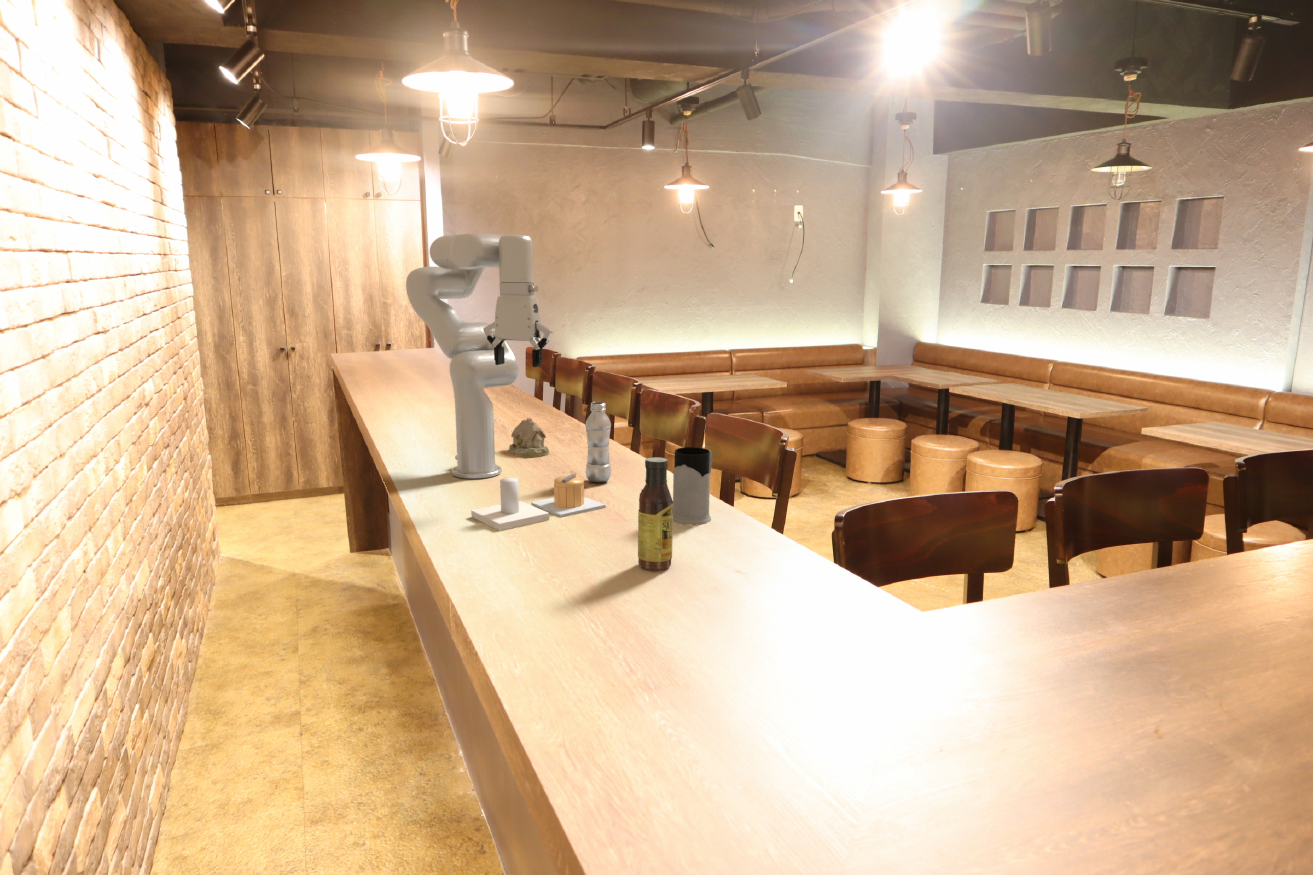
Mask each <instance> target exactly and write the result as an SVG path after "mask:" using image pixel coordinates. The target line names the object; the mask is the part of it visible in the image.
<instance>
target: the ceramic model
mask: <svg viewBox="0 0 1313 875" xmlns="http://www.w3.org/2000/svg"><path fill="white" fill-rule="evenodd" d="M510 437H511V438H512V440H513V442H512V444H510V445H509V447H508V450H509V453H510V454H512V455H515V456H520V457H525V458H537V457H543V456H546V455H549V453H550V449H549V447H548V446H547V445H546V446H545V439H546V438H547V436H546V433H545V432H544V430H543V429H542V428H541V427H540V426H539V425H538V424H537V422H535V421H533V419H532V418H531V417H527V418H526V419H523V420H521V421H520V423H519V424H517V426H516V427H514V429H513V430H512V433H511V435H510Z"/></svg>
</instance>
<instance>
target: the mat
mask: <svg viewBox="0 0 1313 875" xmlns="http://www.w3.org/2000/svg"><path fill="white" fill-rule="evenodd" d="M530 505H531V506H534V507H536V508H538V509H541V510H543V511H545V512H548V513H549V514H552V515H555V516H557V517H560V518H563V517H568V516H573V515H577V514H581V513H586V512H590V511H595V510H599V509H600V510H601V509H604V508H606V507H607V506H606V504H604V503H602V502H599V501H597V500H594V499H592V498H589V497H586V496H584V504H583V505H582V506H579V507H574V508H567V507H566V508H563V507H558V506H555V504H554V497H549V498H544V499H540V500H536V501H531V502H530Z"/></svg>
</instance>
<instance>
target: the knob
mask: <svg viewBox="0 0 1313 875" xmlns="http://www.w3.org/2000/svg"><path fill="white" fill-rule="evenodd" d="M584 480H585V479H584V478H583V477H580V476H577V474H576V473H571V474H569V475H567V476H559V477H556V478H554V479H553V498H554V504H555V506H558V507H563V508H566V507H567V508H574V507H579V506H582V505H583V504H584V497H585V483H584Z"/></svg>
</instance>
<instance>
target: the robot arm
mask: <svg viewBox="0 0 1313 875" xmlns="http://www.w3.org/2000/svg"><path fill="white" fill-rule="evenodd" d="M533 252H534V251H533V239H532V238H531V237H530V236H529V235H525V234H497V233H464V234H463V233H462V234H461V233H460V234H450V235H448V234H447V235H442V236H439V237H438V238H436V239H435V240H433V242H432V243H431V244H430V246H429V255H430V260H432V262H433V263H434V264H435V265H436V266H424V267H423V266H422V267H417V268H415V269H413V270H412V271H410V272H409V273H408V275H407V276H406V280H405V281H406V282H405V288H406V293H407V294H406V295H407V298H408V300H409V304H410V305H411V307H412V309H413V311H414V312H415V313H416V315H417V316H418V317H419V318H420V319H421V321H422V322H424V323H425V325H426V326H427V328H428V330H429V332H431V334H432V336H433V338H434V340H435V341H436V343H437V345H438V346H439V348H440V350H441V352H442V353H443V354H444V355H445V356H446V357H447V358H449V359H450V362H449V375H450V379H451V385H452V388H453V389H452V390H453V396H454V408H455V409H454V410H455V411H454V414H455V433H456V436H455V437H456V455H455V456H454V460H456V462H457V465H456V466H454V467H453V468H452V469H451V475H452V476H453V477H455V478H460V479H461V478H462V479H469V480H470V479H472V480H473V479H486V478H492V477H495V476H498V475H500V474H501V473H502V467H501V466H500V465H498V464H496V456H495V455H496V454H495V453H496V451H495V450H496V449H495V447H496V445H495V422H494V421H495V420H494V419H495V418H494V414H495V413H494V404H493V401H492V400H491V398H490V396H488V394H487V393H486V391H485V389H488V388H497V387H505V386H510V385H513V384H514V383H515V382H516V381H517V380H518V378H519V374H520V367H519V363H518V359H517V357H516V355H515V354H514V352H513V350H512V349H511V347H510V346H509V344H508V342H507V341H515V342H529V343H530V344H531V346H532V347H533V349H532V350H531V360H532V361H531V364H532V365H531V366H532V368H538V367H541V366H542V363H543V349H544V348H545V346H546V345H547V344H548V343H549V342H550V339H551V337H552V335H553V330H552V329H551V328H549V327H547V326H545V325H544V324H542V318H541V310H540V305H539V300H538V297H537V296H534V295H535V293H537V292H538V291H539V286H538V285H534V272H533V271H534V268H533V267H534V265H533V264H534V261H533V257H534V256H533ZM485 268H498V269H499V270H498V273H499V275H498V276H499V296H497V298H496V305H495V311H494V321H493V322H492V323H490V322H485V321H482V322H474V321H473V322H468V321H464V320H463V319H462V318H461V316H460V314H459V313H458V311H457V310H456V309H455V308H454V307H453V306H452V305H450V304H449V303H447V302H445V301H444V300H449V299H451V300H453V299H458V300H459V299H466V298H468V297H470V296H471V295H472V293H473V292H474V290H475V288H476V287H477V284H478V282H479V280H480V278H481V276H482V275H483V272H484V270H485ZM542 334H543V336H542Z"/></svg>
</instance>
